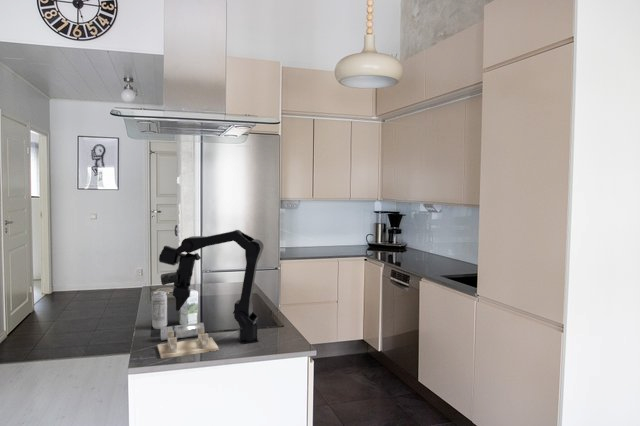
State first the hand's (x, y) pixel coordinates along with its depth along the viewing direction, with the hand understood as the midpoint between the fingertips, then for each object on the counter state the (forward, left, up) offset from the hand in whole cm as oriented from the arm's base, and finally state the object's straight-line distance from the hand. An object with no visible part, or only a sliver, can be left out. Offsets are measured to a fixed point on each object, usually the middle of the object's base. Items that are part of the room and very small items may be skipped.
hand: (177, 306), depth 178 cm
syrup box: (-7, -16, -13) cm, 22 cm away
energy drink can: (+5, -16, -13) cm, 21 cm away
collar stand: (-2, +14, -12) cm, 19 cm away
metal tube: (-2, +1, -12) cm, 13 cm away
